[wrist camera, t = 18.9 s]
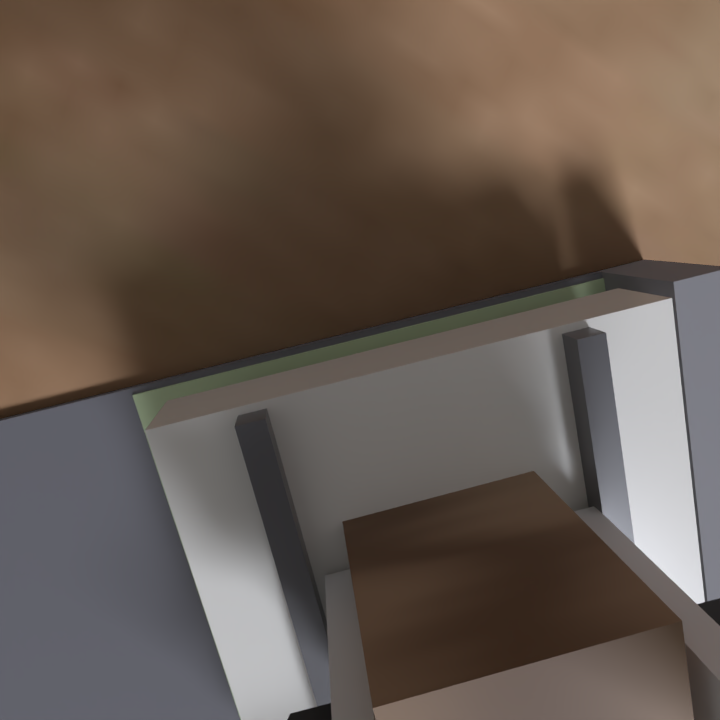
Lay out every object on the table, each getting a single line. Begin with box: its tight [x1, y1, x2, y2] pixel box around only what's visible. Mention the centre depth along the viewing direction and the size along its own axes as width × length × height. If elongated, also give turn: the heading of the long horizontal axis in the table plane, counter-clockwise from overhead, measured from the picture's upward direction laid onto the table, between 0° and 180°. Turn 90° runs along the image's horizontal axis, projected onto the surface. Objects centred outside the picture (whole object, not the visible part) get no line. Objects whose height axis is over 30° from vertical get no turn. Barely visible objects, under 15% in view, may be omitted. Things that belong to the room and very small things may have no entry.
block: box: [342, 471, 694, 720], centre depth 13 cm, size 5×5×6 cm
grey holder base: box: [0, 260, 720, 720], centre depth 18 cm, size 28×14×4 cm, turn 103°
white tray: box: [145, 288, 705, 720], centre depth 15 cm, size 13×15×10 cm
